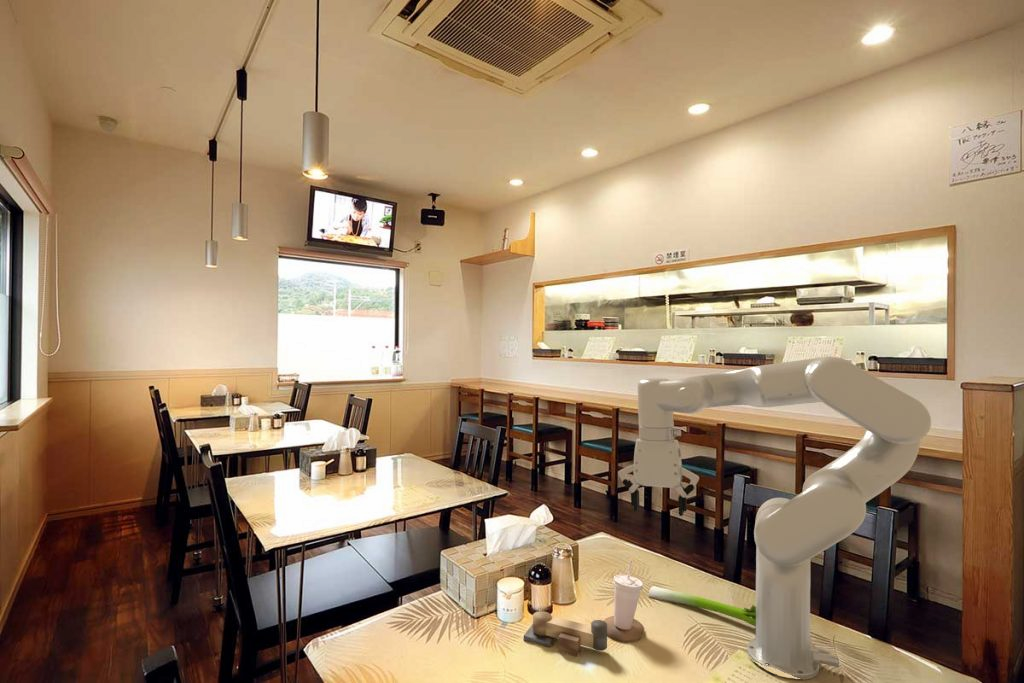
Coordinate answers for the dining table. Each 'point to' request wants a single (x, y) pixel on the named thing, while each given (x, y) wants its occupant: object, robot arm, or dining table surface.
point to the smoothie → (626, 599)
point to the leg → (571, 629)
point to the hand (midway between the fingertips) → (658, 511)
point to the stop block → (569, 644)
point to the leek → (704, 604)
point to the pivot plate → (538, 638)
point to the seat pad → (624, 631)
